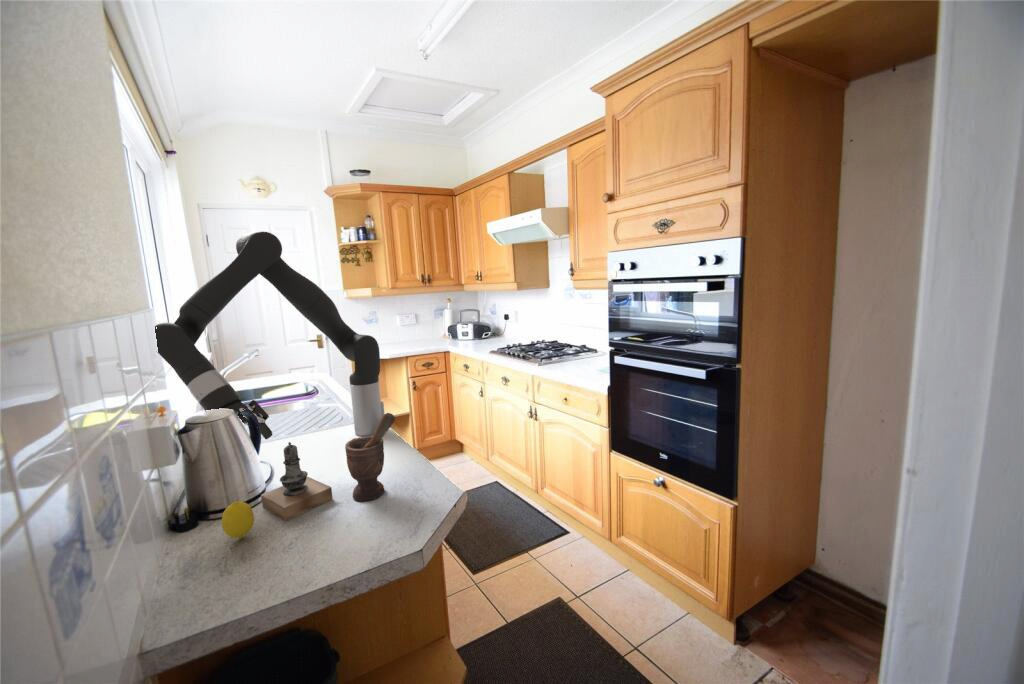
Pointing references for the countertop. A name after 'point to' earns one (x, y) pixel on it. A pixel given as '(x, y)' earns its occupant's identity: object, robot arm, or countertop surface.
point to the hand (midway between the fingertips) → (256, 444)
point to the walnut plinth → (296, 499)
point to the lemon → (237, 519)
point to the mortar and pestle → (368, 461)
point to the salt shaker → (293, 473)
